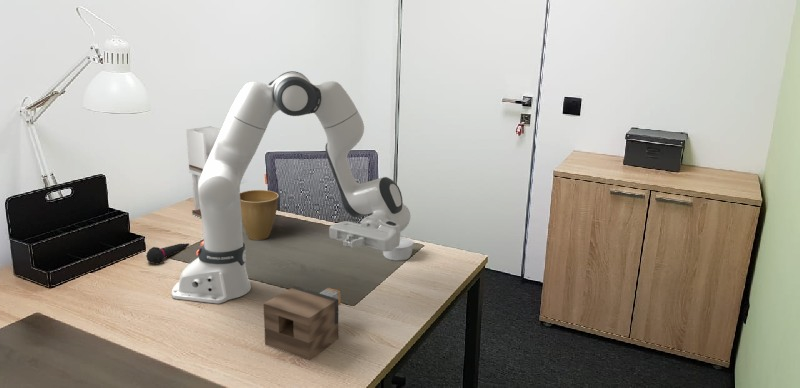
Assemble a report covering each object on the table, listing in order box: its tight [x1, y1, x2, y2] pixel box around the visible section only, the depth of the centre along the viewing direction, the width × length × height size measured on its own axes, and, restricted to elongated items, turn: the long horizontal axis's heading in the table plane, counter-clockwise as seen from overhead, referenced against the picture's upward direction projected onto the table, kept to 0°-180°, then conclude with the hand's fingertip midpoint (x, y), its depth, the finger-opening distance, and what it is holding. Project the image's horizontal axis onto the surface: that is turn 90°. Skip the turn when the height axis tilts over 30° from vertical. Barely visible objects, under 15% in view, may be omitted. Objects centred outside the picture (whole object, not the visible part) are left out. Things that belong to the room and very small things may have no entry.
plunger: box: [319, 287, 341, 307], centre depth 161 cm, size 14×4×4 cm, turn 150°
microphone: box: [145, 243, 190, 265], centre depth 209 cm, size 6×6×20 cm
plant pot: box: [240, 189, 279, 241], centre depth 226 cm, size 15×15×16 cm
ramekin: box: [382, 236, 415, 262], centre depth 213 cm, size 11×11×5 cm
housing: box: [263, 285, 339, 361], centre depth 156 cm, size 12×14×11 cm
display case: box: [185, 126, 222, 219], centre depth 245 cm, size 11×11×35 cm
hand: (347, 244), depth 168 cm, fingers closed
